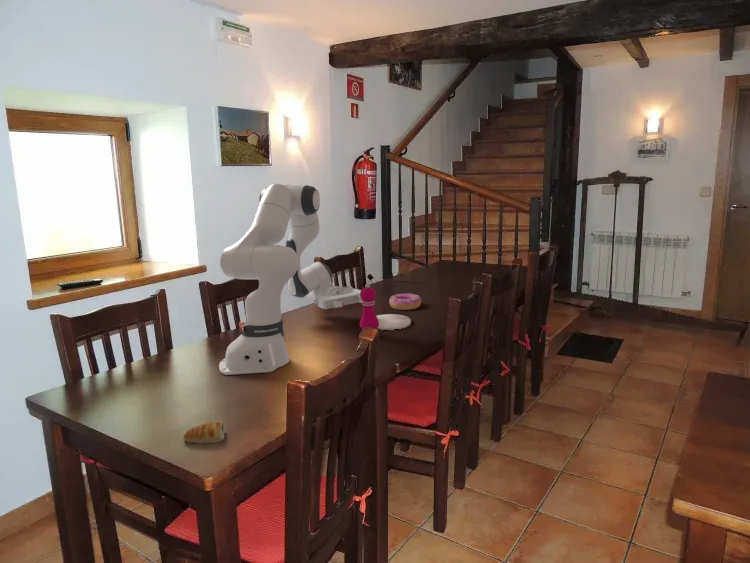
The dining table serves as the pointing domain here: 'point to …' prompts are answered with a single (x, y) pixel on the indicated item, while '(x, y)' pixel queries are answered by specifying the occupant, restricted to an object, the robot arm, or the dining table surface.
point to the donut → (405, 301)
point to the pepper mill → (368, 308)
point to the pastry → (206, 433)
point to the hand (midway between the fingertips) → (352, 302)
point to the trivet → (393, 321)
